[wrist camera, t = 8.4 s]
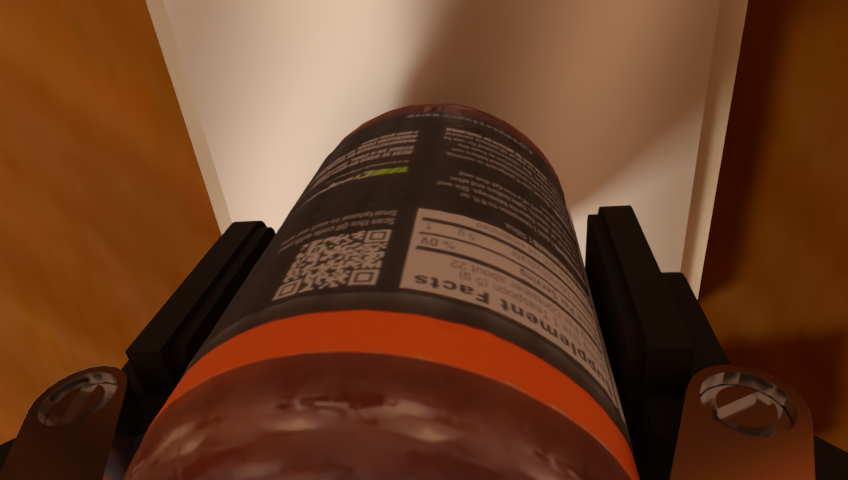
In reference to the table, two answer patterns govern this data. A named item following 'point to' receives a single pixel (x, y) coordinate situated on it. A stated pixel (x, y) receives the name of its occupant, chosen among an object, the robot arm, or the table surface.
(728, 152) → the table surface
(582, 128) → the stand
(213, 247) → the robot arm
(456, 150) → the supplement bottle
